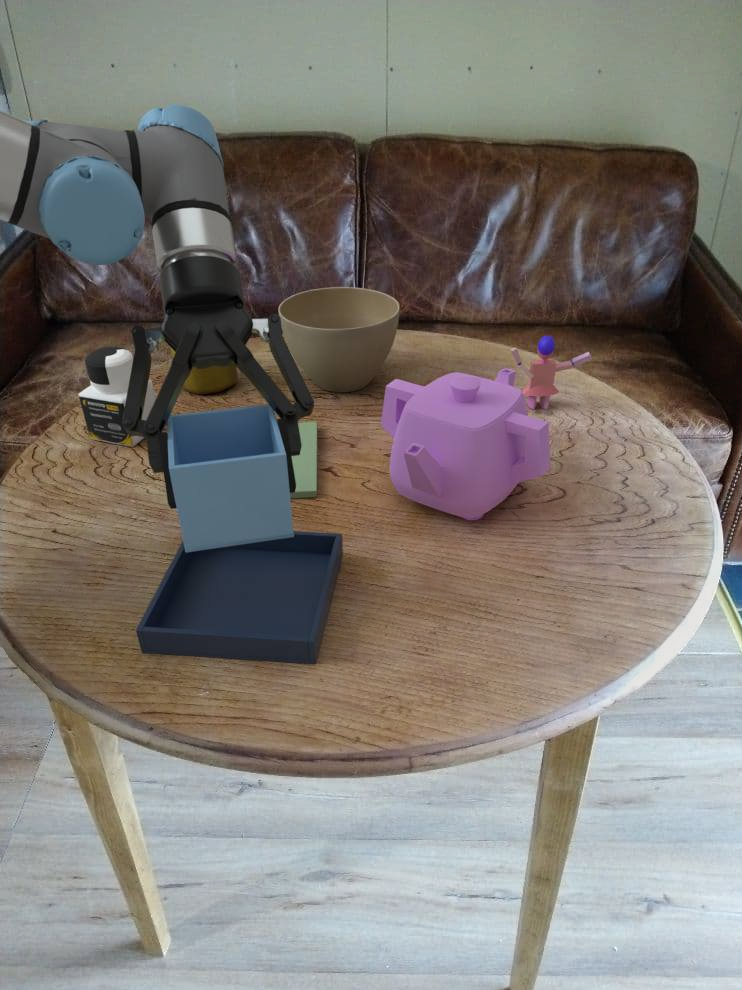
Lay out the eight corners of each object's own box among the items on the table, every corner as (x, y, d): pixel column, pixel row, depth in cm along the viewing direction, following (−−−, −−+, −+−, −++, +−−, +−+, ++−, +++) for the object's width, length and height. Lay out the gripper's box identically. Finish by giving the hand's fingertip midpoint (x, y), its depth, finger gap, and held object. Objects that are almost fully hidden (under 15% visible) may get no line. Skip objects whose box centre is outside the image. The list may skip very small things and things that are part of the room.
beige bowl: (411, 400, 120) (412, 323, 113) (292, 413, 117) (285, 334, 110) (386, 353, 135) (385, 281, 127) (279, 363, 131) (272, 290, 124)
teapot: (406, 544, 91) (406, 428, 82) (369, 464, 105) (367, 358, 96) (560, 520, 95) (576, 406, 86) (505, 446, 110) (515, 342, 101)
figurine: (587, 407, 119) (598, 336, 112) (509, 414, 117) (515, 342, 110) (579, 397, 121) (589, 327, 115) (503, 403, 120) (509, 332, 113)
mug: (261, 375, 123) (229, 317, 117) (205, 411, 120) (170, 353, 115) (232, 362, 133) (202, 308, 127) (181, 395, 130) (147, 341, 124)
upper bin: (181, 494, 81) (166, 415, 75) (280, 481, 83) (272, 403, 77) (185, 552, 73) (168, 468, 67) (294, 537, 75) (286, 454, 70)
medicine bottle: (89, 440, 111) (67, 359, 104) (119, 417, 116) (100, 338, 109) (133, 448, 109) (114, 366, 102) (162, 424, 114) (145, 345, 107)
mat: (170, 504, 98) (169, 497, 97) (189, 433, 112) (188, 426, 112) (317, 497, 99) (316, 490, 99) (317, 427, 114) (317, 421, 113)
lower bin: (141, 652, 77) (135, 630, 76) (194, 546, 91) (190, 525, 89) (316, 664, 76) (314, 641, 74) (343, 554, 90) (341, 533, 88)
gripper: (313, 281, 82) (349, 490, 79) (82, 299, 77) (112, 522, 74) (319, 243, 75) (359, 471, 72) (65, 260, 70) (97, 506, 67)
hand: (233, 497), depth 73 cm, fingers closed on upper bin, 10 cm apart
